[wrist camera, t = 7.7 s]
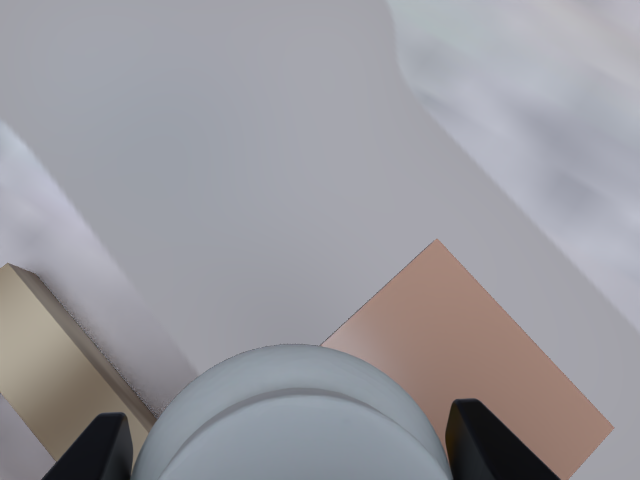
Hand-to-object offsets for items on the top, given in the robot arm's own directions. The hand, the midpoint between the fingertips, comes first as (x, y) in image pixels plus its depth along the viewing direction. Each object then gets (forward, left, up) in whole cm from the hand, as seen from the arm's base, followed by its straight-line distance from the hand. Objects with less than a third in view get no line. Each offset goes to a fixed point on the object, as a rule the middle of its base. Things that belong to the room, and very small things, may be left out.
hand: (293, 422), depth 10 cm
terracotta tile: (-5, -4, -13) cm, 15 cm away
